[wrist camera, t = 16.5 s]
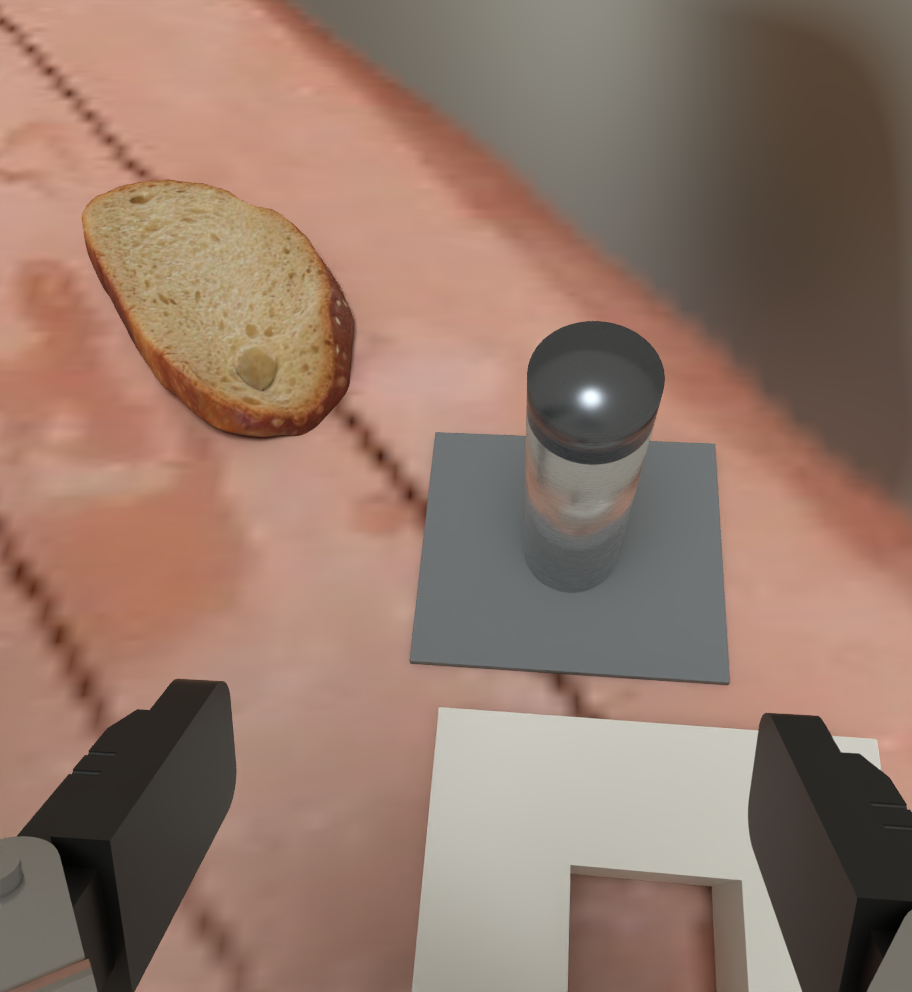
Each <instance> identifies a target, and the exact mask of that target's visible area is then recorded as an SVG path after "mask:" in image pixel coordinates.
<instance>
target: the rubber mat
mask: <svg viewBox="0 0 912 992" xmlns="http://www.w3.org/2000/svg"><path fill="white" fill-rule="evenodd" d="M525 463H526V436H514V435H490V434H466V433H441V432H436V433H435V442H434V451H433V460H432V468H431V477H430V486H429V494H428V503H427V512H426V521H425V529H424V538H423V547H422V556H421V564H420V573H419V582H418V590H417V599H416V608H415V617H414V625H413V634H412V643H411V652H410V660H409V661H410V663H412V664H427V665H441V666H456V667H471V668H485V669H500V670H514V671H529V672H544V673H558V674H573V675H588V676H602V677H617V678H632V679H646V680H661V681H675V682H690V683H705V684H719V685H728V684H729V683H730V676H729V660H728V643H727V627H726V611H725V595H724V578H723V562H722V546H721V530H720V513H719V497H718V481H717V465H716V448H715V444H707V443H682V442H658V441H649V444H648V448H647V452H646V455H645V459H644V463H643V466H642V470H641V474H640V477H639V481H638V484H637V488H636V492H635V495H634V499H633V503H632V506H631V510H630V514H629V517H628V521H627V525H626V528H625V532H624V536H623V539H622V543H621V547H620V550H619V554H618V557H617V561H616V564H615V567H614V569H613V571H612V572H611V574H610V575H609V576H608V578H607V579H606V580H605V581H604V582H602V583H601V584H600V585H598V586H596V587H595V588H592V589H590V590H587V591H583V592H577V593H568V592H561V591H557V590H555V589H552V588H550V587H548V586H546V585H544V584H543V583H542V582H540V581H539V580H538V579H537V578H536V577H535V576H534V575H533V574H532V572H531V571H530V569H529V567H528V565H527V563H526V560H525V556H524V512H525Z"/></svg>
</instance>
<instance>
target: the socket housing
mask: <svg viewBox="0 0 912 992" xmlns="http://www.w3.org/2000/svg"><path fill="white" fill-rule="evenodd" d="M757 737H758V730H744V729H730V728H717V727H703V726H689V725H676V724H662V723H648V722H635V721H621V720H607V719H594V718H580V717H566V716H553V715H539V714H525V713H512V712H498V711H484V710H471V709H457V708H443V707H439V712H438V723H437V733H436V743H435V754H434V764H433V775H432V785H431V796H430V806H429V816H428V827H427V837H426V848H425V858H424V869H423V879H422V889H421V900H420V910H419V921H418V931H417V942H416V952H415V963H414V973H413V983H412V992H568V951H569V908H570V874H577V875H588V876H599V877H610V878H621V879H632V880H643V881H654V882H665V883H676V884H687V885H698V886H709V887H712V909H713V930H714V952H715V973H716V992H802V990H801V987H800V984H799V981H798V978H797V975H796V973H795V970H794V967H793V964H792V961H791V958H790V955H789V952H788V949H787V947H786V944H785V941H784V938H783V935H782V932H781V929H780V926H779V924H778V921H777V918H776V915H775V912H774V909H773V906H772V903H771V901H770V898H769V895H768V892H767V889H766V886H765V883H764V880H763V877H762V875H761V872H760V869H759V866H758V863H757V860H756V857H755V854H754V852H753V848H752V845H751V841H750V835H749V827H748V801H749V794H750V787H751V780H752V772H753V765H754V758H755V751H756V744H757ZM832 737H833V739H834V741H835V743H836V744H837V746H838V748H839V750H840V751H841V752H843V753H859V754H861V755H862V756H863V757H864V758H866V759H867V760H868V761H869V762H871V763H872V764H873V765H874V766H876V767H877V768H878V769H879V770H881V766H880V758H879V751H878V744H877V739H867V738H853V737H840V736H832Z"/></svg>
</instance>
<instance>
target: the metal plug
mask: <svg viewBox="0 0 912 992" xmlns="http://www.w3.org/2000/svg"><path fill="white" fill-rule="evenodd" d="M664 382H665V376H664V369H663V365H662V362H661V360H660V358H659V356H658V354H657V352H656V351H655V349H654V348H653V347H652V346H651V345H650V343H649V342H647V341H646V340H645V339H644V338H643V337H642V336H640V335H639V334H637V333H636V332H634V331H632V330H630V329H628V328H626V327H623V326H620V325H617V324H614V323H608V322H600V321H587V322H579V323H575V324H571V325H568V326H565V327H562V328H560V329H558V330H556V331H555V332H553V333H552V334H550V335H549V336H547V337H546V338H545V339H544V340H543V341H542V342H541V343H540V344H539V345H538V346H537V348H536V349H535V351H534V352H533V354H532V357H531V359H530V362H529V365H528V372H527V414H526V463H525V512H524V556H525V560H526V563H527V565H528V567H529V569H530V571H531V572H532V574H533V575H534V576H535V577H536V578H537V579H538V580H539V581H540V582H542V583H543V584H544V585H546V586H548V587H550V588H552V589H555V590H557V591H561V592H568V593H577V592H583V591H587V590H590V589H592V588H595V587H596V586H598V585H600V584H601V583H602V582H604V581H605V580H606V579H607V578H608V576H609V575H610V574H611V572H612V571H613V569H614V567H615V564H616V561H617V557H618V554H619V550H620V547H621V543H622V539H623V536H624V532H625V528H626V525H627V521H628V517H629V514H630V510H631V506H632V503H633V499H634V495H635V492H636V488H637V484H638V481H639V477H640V474H641V470H642V466H643V463H644V459H645V455H646V452H647V448H648V444H649V441H650V437H651V433H652V430H653V426H654V422H655V419H656V415H657V411H658V408H659V404H660V400H661V397H662V393H663V389H664Z"/></svg>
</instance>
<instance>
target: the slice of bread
mask: <svg viewBox="0 0 912 992" xmlns="http://www.w3.org/2000/svg"><path fill="white" fill-rule="evenodd" d="M82 223H83V229H84V238H85V243H86V247H87V252H88V255H89V258H90V260H91V262H92V265H93V267H94V269H95V271H96V274H97V276H98V278H99V280H100V282H101V284H102V286H103V288H104V289H105V291H106V292H107V294H108V295H109V296H110V298H111V300H112V302H113V304H114V306H115V308H116V310H117V312H118V314H119V316H120V318H121V319H122V321H123V323H124V325H125V327H126V329H127V331H128V333H129V335H130V337H131V339H132V341H133V342H134V344H135V346H136V348H137V349H138V351H139V352H140V354H141V355H142V357H143V358H144V360H145V361H146V363H147V364H148V365H149V367H150V368H151V370H152V372H153V373H154V375H155V377H156V378H157V379H158V381H159V382H160V383H161V384H162V385H163V386H164V387H165V388H166V389H167V390H168V391H170V392H172V393H174V394H175V395H176V396H177V397H178V398H179V399H180V400H181V401H182V402H183V403H184V404H185V405H186V406H187V407H188V408H189V409H190V410H192V411H193V412H194V413H195V414H196V415H197V416H199V417H200V418H201V419H203V420H204V421H205V422H207V423H208V424H210V425H212V426H214V427H216V428H217V429H220V430H224V431H227V432H231V433H235V434H240V435H247V436H255V437H271V436H278V435H293V436H299V435H303V434H305V433H307V432H309V431H311V430H312V429H314V428H315V427H316V426H317V425H318V424H319V423H320V422H321V421H322V420H323V419H324V418H325V417H326V416H327V415H328V414H329V413H330V412H331V410H332V409H333V408H334V407H335V406H336V405H337V404H338V403H339V401H340V400H341V399H342V398H343V396H344V395H345V393H346V392H347V390H348V387H349V378H350V366H351V348H352V339H353V329H354V320H353V316H352V313H351V310H350V308H349V306H348V304H347V302H346V300H345V298H344V295H343V292H342V289H341V287H340V285H339V284H338V283H337V281H336V280H335V278H334V276H333V275H332V273H331V271H330V270H329V268H328V267H327V266H326V264H325V263H324V262H323V260H322V259H321V258H320V256H319V255H318V254H317V252H316V251H315V249H314V248H313V246H312V244H311V242H310V240H309V239H308V238H307V237H306V236H305V235H304V234H303V233H302V232H301V231H300V230H299V229H298V228H297V227H296V226H295V225H294V224H293V223H291V222H290V221H289V220H287V219H286V218H284V217H283V216H282V215H281V214H279V213H278V212H276V211H274V210H272V209H268V208H262V207H256V206H253V205H250V204H248V203H247V202H245V201H243V200H240V199H239V198H237V197H236V196H235V195H234V194H232V193H231V192H229V191H226V190H223V189H220V188H216V187H213V186H210V185H206V184H203V183H190V182H182V181H175V180H170V179H166V180H156V181H144V182H138V183H134V184H129V185H123V186H120V187H118V188H115V189H113V190H111V191H109V192H107V193H104V194H101V195H98V196H97V197H95V198H94V199H93V200H92V201H91V202H90V203H89V204H87V206H86V208H85V210H84V211H83V214H82Z"/></svg>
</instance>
